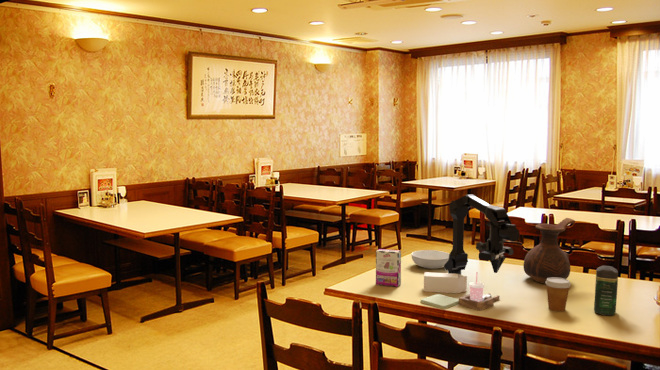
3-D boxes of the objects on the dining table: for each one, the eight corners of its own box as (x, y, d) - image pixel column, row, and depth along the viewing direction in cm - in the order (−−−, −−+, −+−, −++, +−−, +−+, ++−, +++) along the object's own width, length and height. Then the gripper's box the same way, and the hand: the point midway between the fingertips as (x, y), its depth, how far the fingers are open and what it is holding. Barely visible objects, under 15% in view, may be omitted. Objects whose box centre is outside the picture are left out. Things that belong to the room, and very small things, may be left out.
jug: (566, 289, 253) (569, 224, 250) (518, 282, 265) (520, 220, 262) (574, 278, 272) (576, 217, 269) (528, 272, 283) (530, 214, 280)
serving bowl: (410, 271, 286) (410, 258, 285) (411, 261, 306) (411, 249, 306) (452, 272, 282) (452, 259, 282) (450, 262, 303) (450, 250, 302)
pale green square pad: (437, 296, 243) (437, 293, 242) (461, 302, 234) (461, 300, 234) (420, 302, 235) (420, 299, 234) (444, 309, 226) (444, 306, 226)
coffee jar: (616, 317, 216) (618, 270, 214) (593, 314, 219) (595, 268, 217) (615, 310, 224) (618, 265, 222) (594, 307, 228) (596, 263, 226)
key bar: (486, 299, 238) (486, 294, 238) (491, 300, 236) (491, 295, 236) (478, 302, 234) (478, 296, 234) (483, 303, 232) (483, 298, 232)
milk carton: (423, 291, 250) (466, 293, 246) (423, 276, 249) (467, 278, 246) (424, 287, 257) (466, 289, 253) (424, 272, 256) (466, 274, 252)
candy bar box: (401, 284, 261) (401, 250, 260) (398, 287, 257) (398, 252, 255) (378, 282, 265) (378, 248, 264) (375, 284, 261) (375, 250, 259)
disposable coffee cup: (568, 306, 229) (569, 278, 228) (570, 313, 220) (571, 284, 219) (543, 304, 232) (545, 276, 231) (544, 311, 223) (545, 282, 222)
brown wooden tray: (483, 295, 244) (484, 288, 244) (504, 300, 237) (505, 293, 236) (458, 304, 231) (458, 297, 231) (479, 310, 224) (480, 303, 223)
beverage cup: (472, 301, 235) (473, 269, 234) (486, 304, 231) (487, 271, 230) (465, 305, 230) (466, 272, 229) (479, 308, 226) (480, 275, 225)
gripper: (491, 231, 250) (490, 265, 252) (468, 237, 237) (467, 273, 239) (514, 235, 242) (513, 270, 243) (491, 241, 229) (490, 278, 231)
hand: (495, 272), depth 239 cm, fingers closed
